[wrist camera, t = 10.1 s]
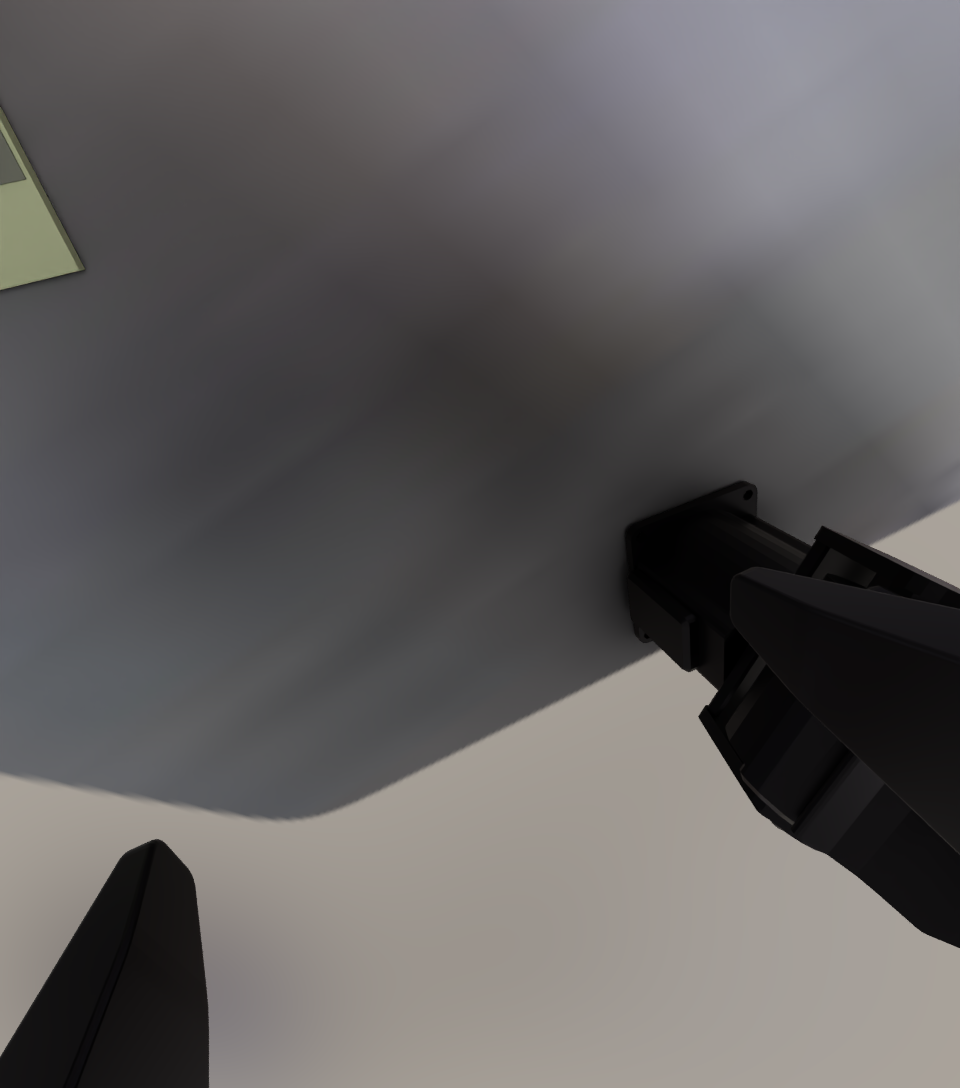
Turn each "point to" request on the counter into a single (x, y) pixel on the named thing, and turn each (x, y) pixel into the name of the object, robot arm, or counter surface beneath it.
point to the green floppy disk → (28, 221)
